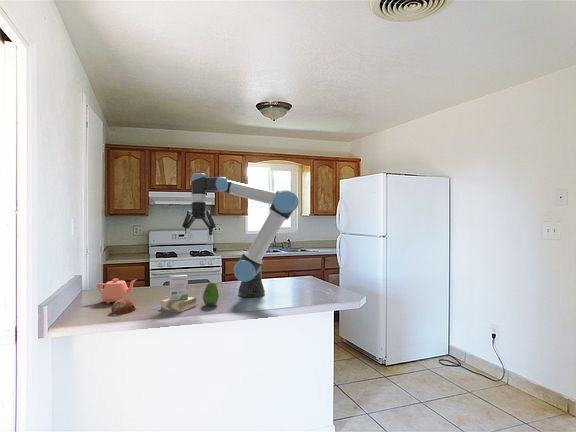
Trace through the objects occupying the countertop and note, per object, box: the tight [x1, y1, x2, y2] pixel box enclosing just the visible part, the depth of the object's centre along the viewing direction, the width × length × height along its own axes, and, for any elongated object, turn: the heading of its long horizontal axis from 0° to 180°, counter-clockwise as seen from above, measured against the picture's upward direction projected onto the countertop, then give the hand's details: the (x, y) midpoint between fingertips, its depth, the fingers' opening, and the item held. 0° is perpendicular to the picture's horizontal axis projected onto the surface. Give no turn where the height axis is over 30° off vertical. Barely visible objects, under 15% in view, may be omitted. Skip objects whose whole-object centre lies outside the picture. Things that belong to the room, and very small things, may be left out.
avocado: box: [202, 282, 220, 307], centre depth 194 cm, size 8×8×12 cm
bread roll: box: [111, 299, 137, 315], centre depth 182 cm, size 10×10×8 cm
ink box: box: [169, 274, 189, 301], centre depth 189 cm, size 8×5×12 cm, turn 109°
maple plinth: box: [160, 296, 197, 313], centre depth 189 cm, size 12×12×4 cm
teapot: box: [96, 278, 138, 305], centre depth 203 cm, size 13×20×12 cm, turn 101°
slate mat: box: [148, 304, 198, 314], centre depth 190 cm, size 18×16×1 cm
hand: (198, 240), depth 209 cm, fingers open, 13 cm apart
